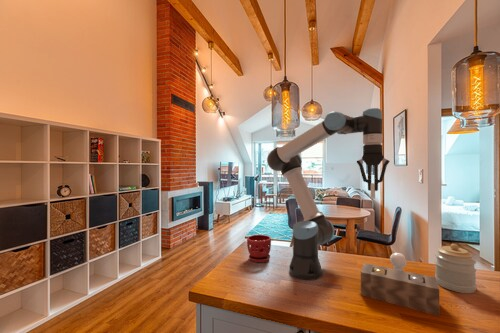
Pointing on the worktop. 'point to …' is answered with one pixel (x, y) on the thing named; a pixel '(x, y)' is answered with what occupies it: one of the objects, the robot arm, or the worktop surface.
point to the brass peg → (379, 270)
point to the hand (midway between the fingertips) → (372, 198)
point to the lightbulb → (398, 261)
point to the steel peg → (416, 278)
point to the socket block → (401, 289)
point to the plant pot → (259, 247)
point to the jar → (455, 269)
